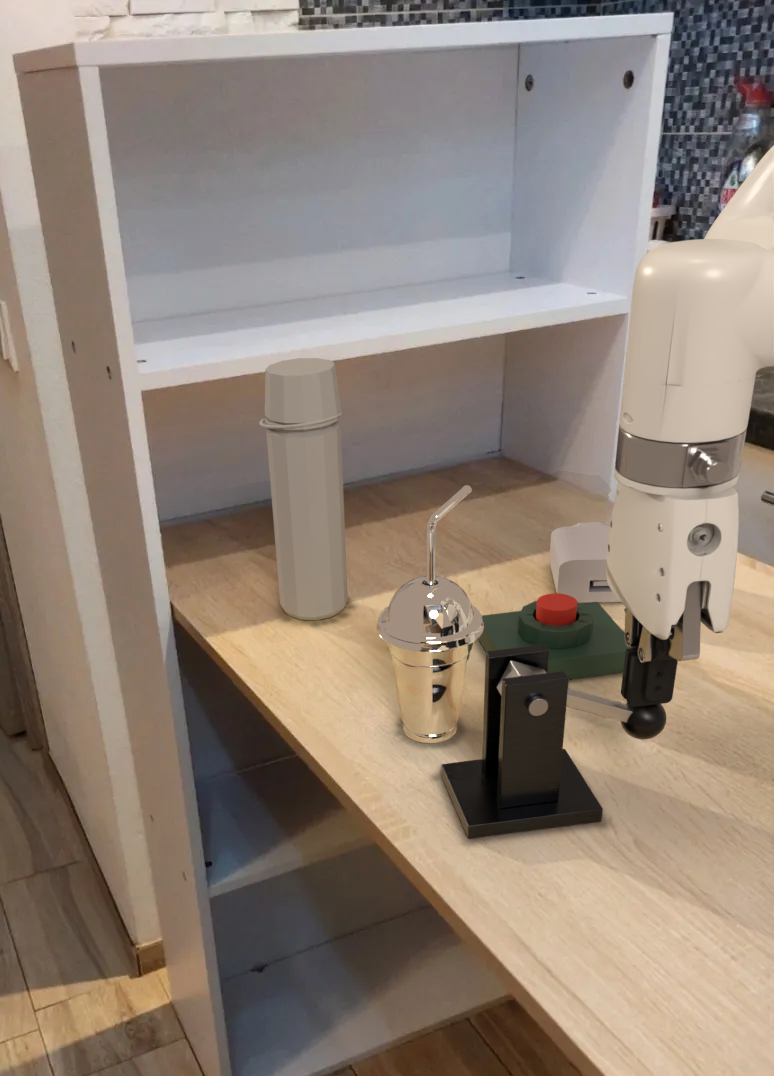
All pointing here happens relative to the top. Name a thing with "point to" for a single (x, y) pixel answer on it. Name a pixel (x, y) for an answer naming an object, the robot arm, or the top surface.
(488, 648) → the green button base
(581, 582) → the charger
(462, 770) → the black lever stand
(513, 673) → the tap lever
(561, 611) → the button
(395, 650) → the cup with straw
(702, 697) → the top surface
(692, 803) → the top surface
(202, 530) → the top surface
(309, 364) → the water bottle
